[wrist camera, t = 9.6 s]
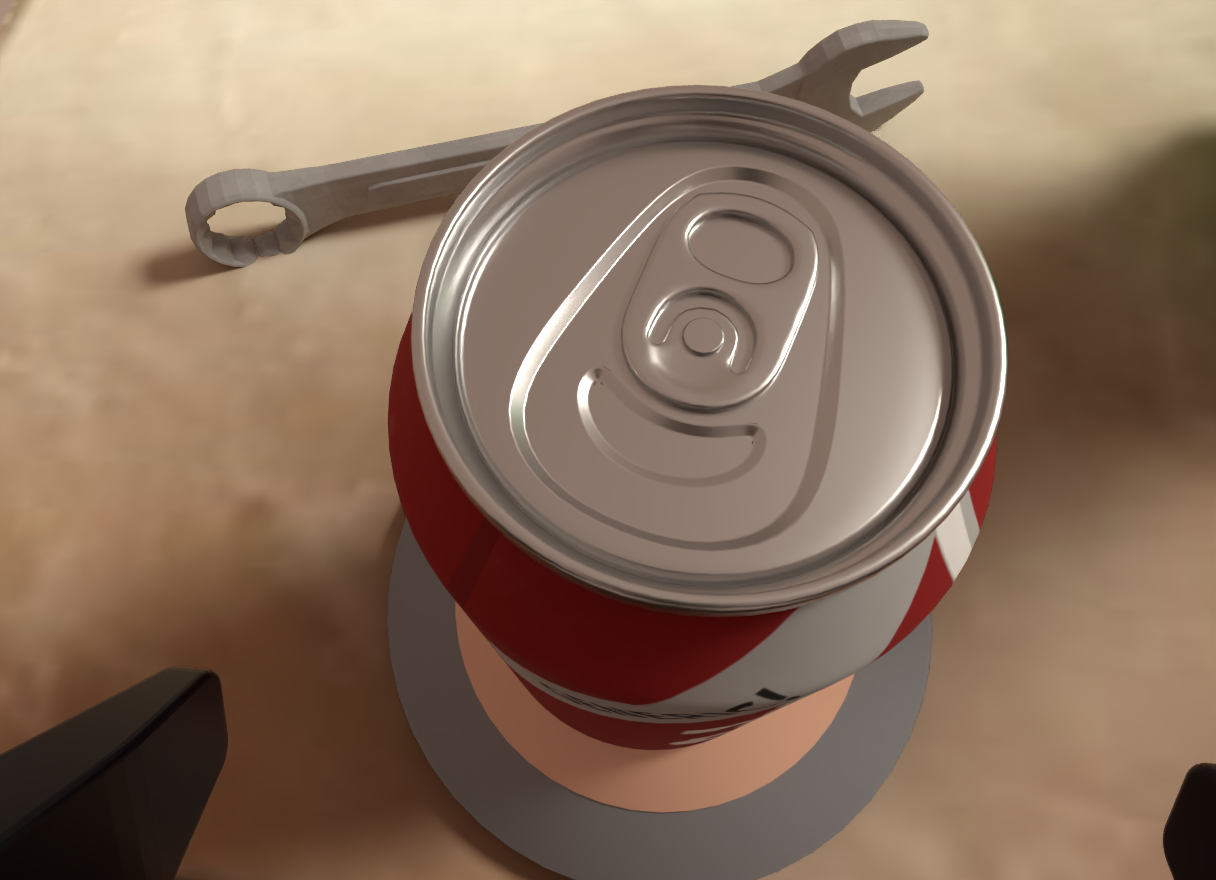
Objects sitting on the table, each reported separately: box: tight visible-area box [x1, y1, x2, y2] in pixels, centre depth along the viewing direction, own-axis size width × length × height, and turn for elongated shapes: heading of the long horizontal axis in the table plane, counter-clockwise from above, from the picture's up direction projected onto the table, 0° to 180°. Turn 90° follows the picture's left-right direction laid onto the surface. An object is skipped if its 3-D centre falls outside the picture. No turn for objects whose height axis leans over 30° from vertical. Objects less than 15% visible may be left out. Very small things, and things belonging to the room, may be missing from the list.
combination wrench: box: [185, 20, 929, 267], centre depth 23 cm, size 4×1×20 cm
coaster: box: [387, 518, 932, 880], centre depth 19 cm, size 12×12×1 cm
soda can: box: [388, 85, 1008, 751], centre depth 14 cm, size 7×7×12 cm
